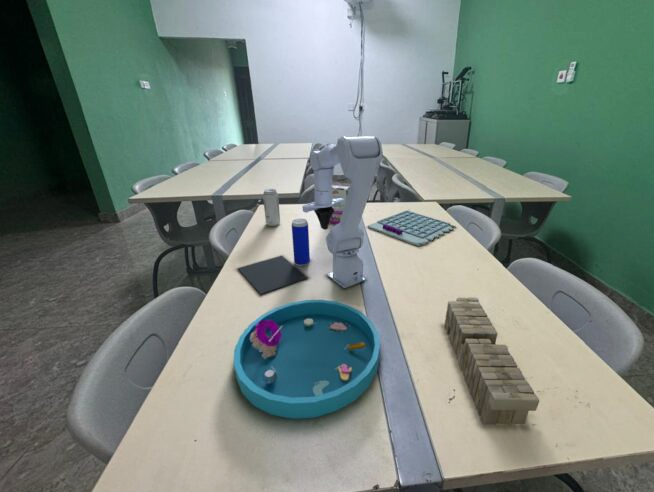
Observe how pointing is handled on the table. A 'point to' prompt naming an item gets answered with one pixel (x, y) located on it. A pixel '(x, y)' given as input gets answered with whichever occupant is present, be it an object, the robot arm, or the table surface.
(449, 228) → the calendar
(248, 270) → the mat
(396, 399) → the table surface
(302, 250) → the beverage can
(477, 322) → the block tower
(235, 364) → the round teal tray
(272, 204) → the energy drink can
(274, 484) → the table surface
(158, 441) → the table surface
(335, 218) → the candy bar box
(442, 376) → the table surface
